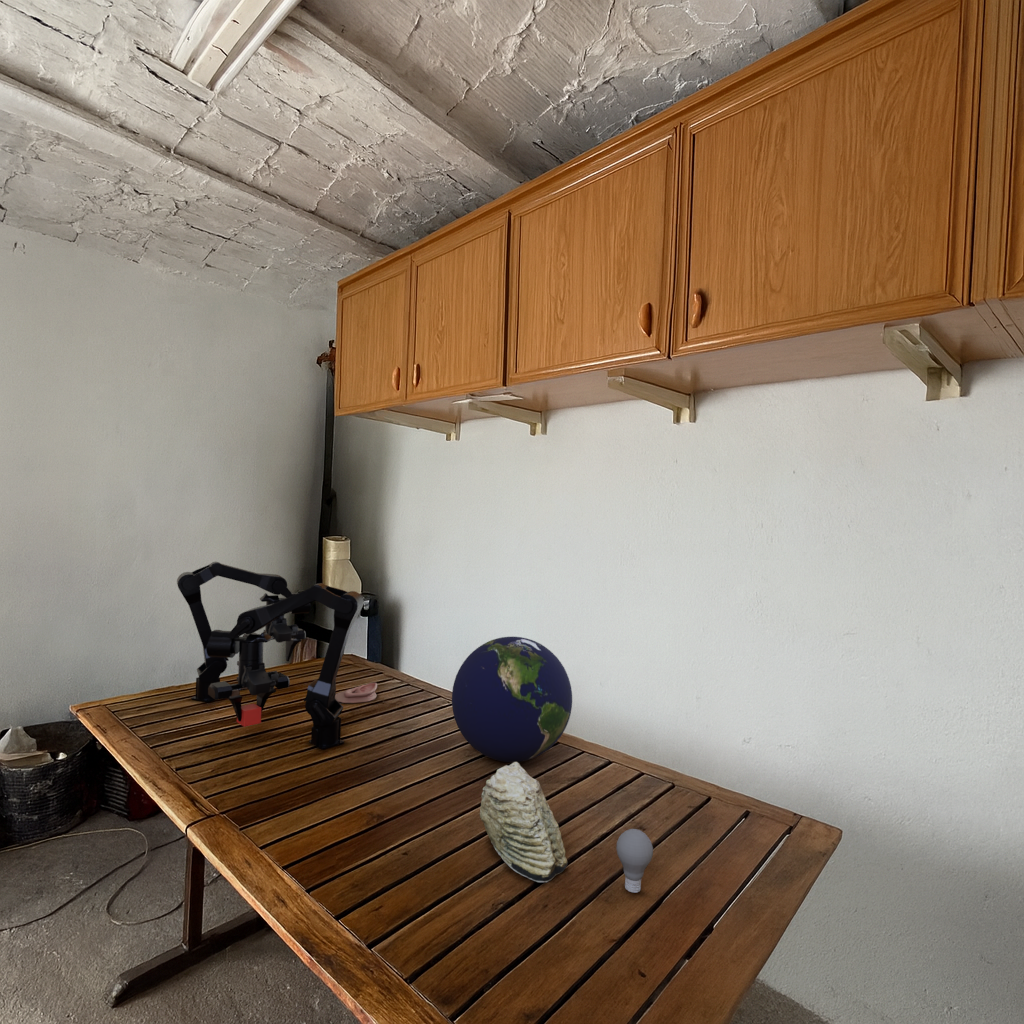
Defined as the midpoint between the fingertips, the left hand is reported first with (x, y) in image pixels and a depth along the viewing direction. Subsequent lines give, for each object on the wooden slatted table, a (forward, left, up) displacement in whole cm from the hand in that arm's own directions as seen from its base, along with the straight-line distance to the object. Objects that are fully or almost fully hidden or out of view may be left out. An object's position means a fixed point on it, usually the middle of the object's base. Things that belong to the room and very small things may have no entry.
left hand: (273, 663), depth 202 cm
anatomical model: (+27, +5, -9) cm, 29 cm away
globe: (+86, -18, -9) cm, 89 cm away
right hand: (+21, -35, -4) cm, 41 cm away
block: (+21, -35, -4) cm, 41 cm away
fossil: (+102, -58, -9) cm, 118 cm away
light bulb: (+123, -61, -9) cm, 137 cm away
